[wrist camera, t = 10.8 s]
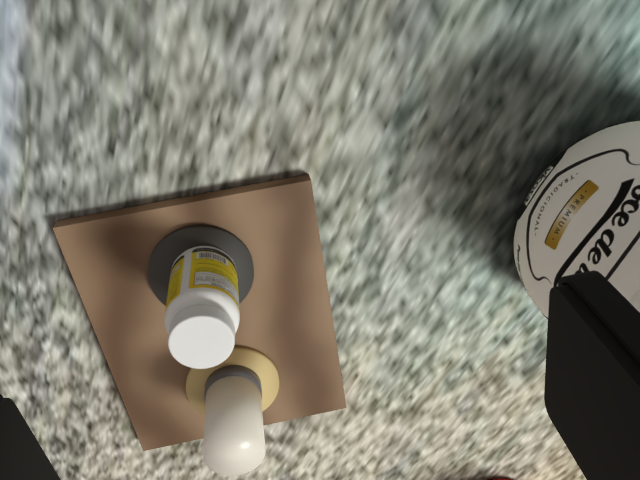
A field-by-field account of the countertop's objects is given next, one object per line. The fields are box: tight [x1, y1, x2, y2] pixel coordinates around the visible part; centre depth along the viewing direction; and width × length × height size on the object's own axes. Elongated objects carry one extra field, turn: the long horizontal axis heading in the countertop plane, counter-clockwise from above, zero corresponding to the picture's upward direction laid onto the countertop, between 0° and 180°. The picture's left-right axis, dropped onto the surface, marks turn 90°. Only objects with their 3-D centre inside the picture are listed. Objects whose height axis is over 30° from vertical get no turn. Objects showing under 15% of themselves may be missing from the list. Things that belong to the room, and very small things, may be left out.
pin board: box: [53, 174, 346, 451], centre depth 46 cm, size 18×22×2 cm
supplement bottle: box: [164, 246, 240, 369], centre depth 38 cm, size 5×5×8 cm
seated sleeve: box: [203, 365, 265, 476], centre depth 44 cm, size 5×5×7 cm
